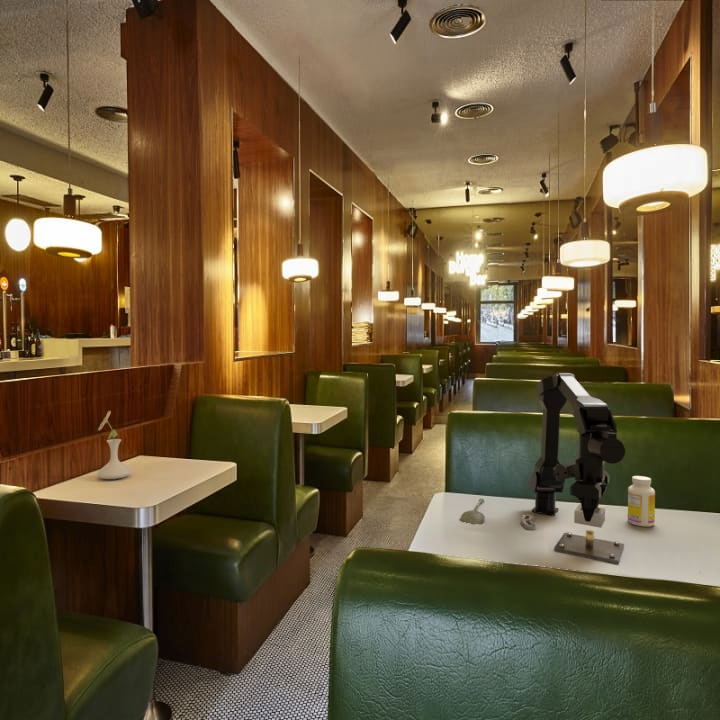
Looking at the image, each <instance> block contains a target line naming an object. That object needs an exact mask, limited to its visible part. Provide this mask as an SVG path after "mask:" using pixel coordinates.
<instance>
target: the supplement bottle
mask: <svg viewBox="0 0 720 720" xmlns="http://www.w3.org/2000/svg"><path fill="white" fill-rule="evenodd" d="M631 479H632V480H631V481H632V484H631V485H630V486H628V490H627V521H628V522H629V523H630V524H632V525H634V526H638V527H648V528H649V527H652V526H655V514H656V512H655V511H656V506H655V505H656V491H655V489H654V488H653V487H651V484H652V478H651V477H648V476H643V475H642V476H641V475H633V476H632V477H631Z"/></svg>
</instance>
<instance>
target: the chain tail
mask: <svg viewBox="0 0 720 720" xmlns="http://www.w3.org/2000/svg"><path fill="white" fill-rule="evenodd" d="M533 521H534V515H531V514H525V513H524V514H523V515H522V517H521V518H520V523H521V525H522V526H523V528H524V529H525V530H536V529H537V528H536V527H537V525H536V524H535V523H534V522H533Z"/></svg>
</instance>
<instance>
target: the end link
mask: <svg viewBox="0 0 720 720" xmlns="http://www.w3.org/2000/svg"><path fill="white" fill-rule="evenodd" d="M573 516H574V517H573V518H574V519H573V523H575V524H577V525H578V524H579V525H585V526H589V527H595V528H598V529H599V528H602V527H603V525H604V523H605V521H606V508H603V507H599V506H598V507H596V510H595V512H594V514H593V516H592V519H591V521H590V522H587V521H585V518H584V514H583V510H582V506H581V503H579V504H578V505H577V506H576V508H575V509H574V515H573Z"/></svg>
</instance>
